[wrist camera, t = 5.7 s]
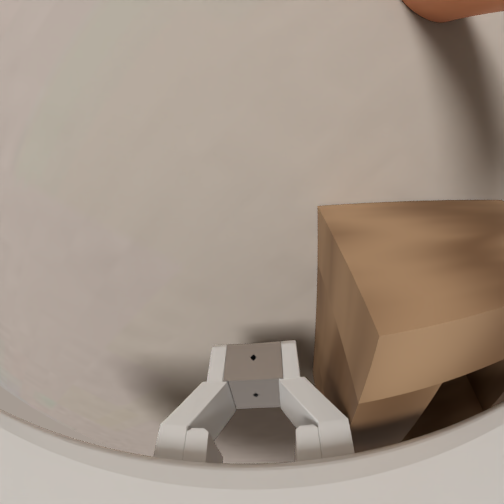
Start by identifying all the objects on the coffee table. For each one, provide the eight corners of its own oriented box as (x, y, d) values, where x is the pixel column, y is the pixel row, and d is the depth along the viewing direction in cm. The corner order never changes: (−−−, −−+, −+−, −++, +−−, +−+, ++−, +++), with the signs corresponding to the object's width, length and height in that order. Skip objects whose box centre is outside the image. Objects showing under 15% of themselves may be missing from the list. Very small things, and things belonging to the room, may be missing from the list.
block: (501, 199, 9) (591, 271, 4) (454, 343, 14) (494, 421, 8) (317, 206, 10) (379, 336, 4) (312, 371, 14) (327, 476, 9)
